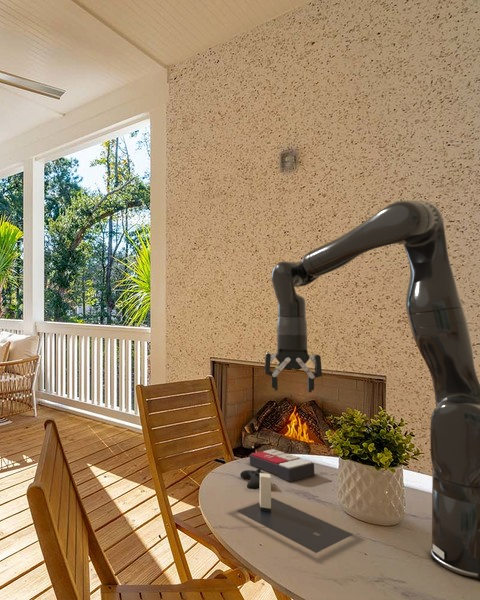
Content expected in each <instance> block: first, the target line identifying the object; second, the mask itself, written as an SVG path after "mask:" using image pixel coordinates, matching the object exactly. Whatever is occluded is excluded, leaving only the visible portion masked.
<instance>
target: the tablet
mask: <svg viewBox="0 0 480 600" xmlns="http://www.w3.org/2000/svg"><path fill="white" fill-rule="evenodd" d="M236 513H239V514H241V515H243V516H245V517H247V518H248V519H251V520H252V521H254V522H256V523H258V524H260V525H261V526H264V527H266V528H267V529H269V530H271V531H273V532H275V533H277V534H279V535H280V536H283V537H284V538H287V539H289V540H291V541H292V542H294V543H296V544H298V545H300V546H302V547H304V548H305V549H307V550H309V551H311V552H313V553H315V554H317V553H319V552H321V551H324V550H325V549H327V548H329V547H331V546H333V545H335V544H337V543H339V542H341V541H343V540H345V539H347V538H349V537H351V536H353V535H354V534H353V533H351V532H349V531H347V530H344V529H342V528H339V527H338V526H335V525H333V524H331V523H328V522H326V521H324V520H322V519H320V518H317V517H315V516H313V515H311V514H309V513H307V512H305V511H302V510H300V509H297V508H295V507H293V506H291V505H289V504H287V503H284V502H283V501H280V500H278V499H275V498H273V497H271V512H268V511H261V510H260V502H257V503H254V504H252V505H249V506H246V507H243V508H241V509H238V510H236Z"/></svg>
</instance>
